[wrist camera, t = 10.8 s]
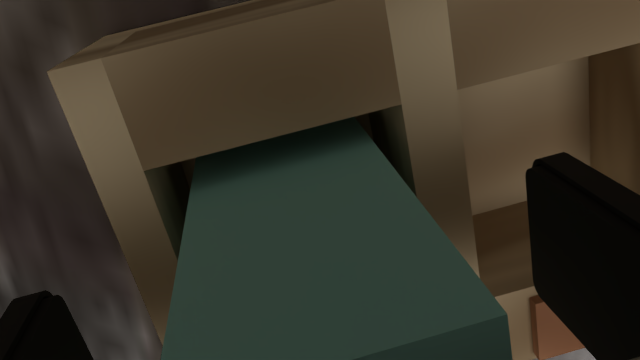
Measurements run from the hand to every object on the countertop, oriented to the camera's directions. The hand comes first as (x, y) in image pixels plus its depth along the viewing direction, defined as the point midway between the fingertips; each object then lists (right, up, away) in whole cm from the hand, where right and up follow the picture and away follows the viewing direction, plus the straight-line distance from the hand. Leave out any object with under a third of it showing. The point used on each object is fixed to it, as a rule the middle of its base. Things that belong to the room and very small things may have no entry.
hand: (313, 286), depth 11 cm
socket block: (+2, +3, +6) cm, 7 cm away
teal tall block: (-1, +2, +5) cm, 6 cm away
